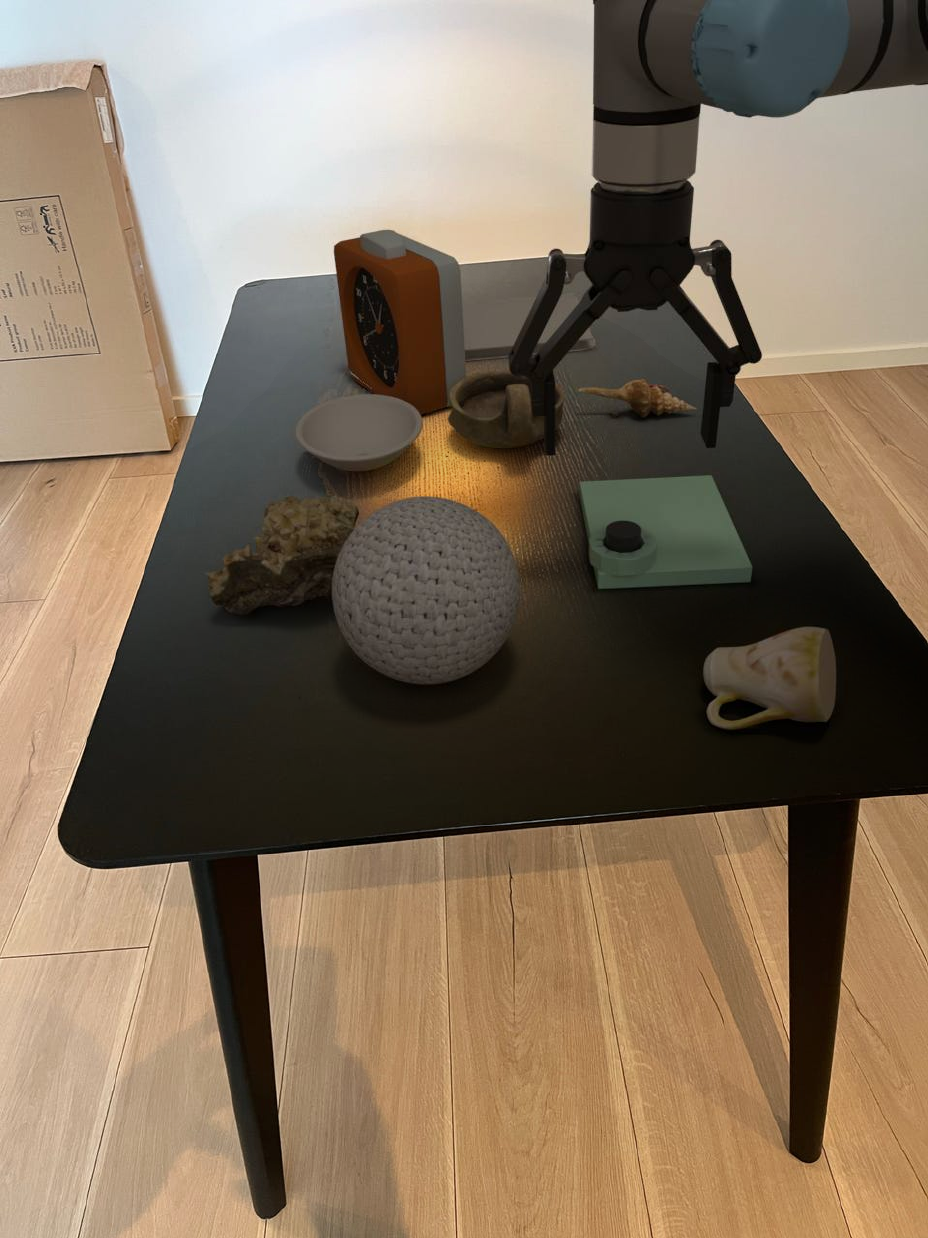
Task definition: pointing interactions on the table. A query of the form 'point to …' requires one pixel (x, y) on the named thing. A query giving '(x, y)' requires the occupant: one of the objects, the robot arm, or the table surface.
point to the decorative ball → (425, 590)
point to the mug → (775, 678)
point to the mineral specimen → (286, 556)
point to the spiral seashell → (642, 398)
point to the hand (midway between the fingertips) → (628, 445)
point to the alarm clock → (401, 317)
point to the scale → (663, 533)
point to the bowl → (498, 410)
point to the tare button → (623, 536)
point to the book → (511, 326)
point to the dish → (359, 430)
